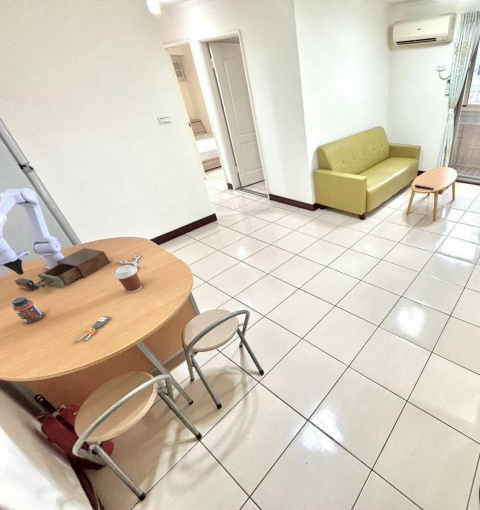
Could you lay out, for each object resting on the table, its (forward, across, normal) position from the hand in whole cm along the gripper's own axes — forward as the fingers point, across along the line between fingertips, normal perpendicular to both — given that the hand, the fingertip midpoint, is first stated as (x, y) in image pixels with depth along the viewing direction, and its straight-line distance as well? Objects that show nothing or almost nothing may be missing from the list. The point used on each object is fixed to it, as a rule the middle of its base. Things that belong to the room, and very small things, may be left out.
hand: (21, 273), depth 133 cm
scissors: (+9, +31, -31) cm, 45 cm away
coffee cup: (+10, +15, -49) cm, 53 cm away
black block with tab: (+9, 0, +2) cm, 10 cm away
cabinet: (+9, +21, -9) cm, 25 cm away
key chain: (+10, -11, -57) cm, 59 cm away
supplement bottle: (+10, -14, -26) cm, 31 cm away
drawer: (+8, +8, -9) cm, 15 cm away
